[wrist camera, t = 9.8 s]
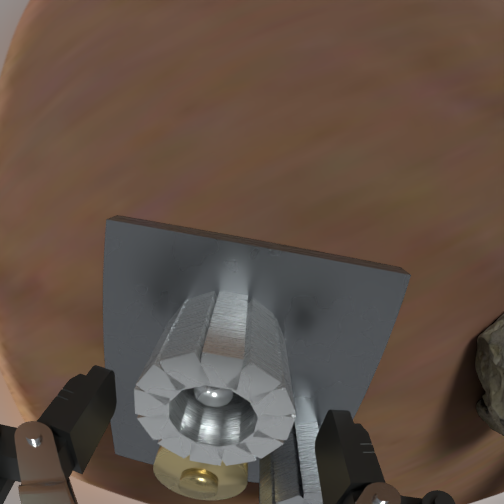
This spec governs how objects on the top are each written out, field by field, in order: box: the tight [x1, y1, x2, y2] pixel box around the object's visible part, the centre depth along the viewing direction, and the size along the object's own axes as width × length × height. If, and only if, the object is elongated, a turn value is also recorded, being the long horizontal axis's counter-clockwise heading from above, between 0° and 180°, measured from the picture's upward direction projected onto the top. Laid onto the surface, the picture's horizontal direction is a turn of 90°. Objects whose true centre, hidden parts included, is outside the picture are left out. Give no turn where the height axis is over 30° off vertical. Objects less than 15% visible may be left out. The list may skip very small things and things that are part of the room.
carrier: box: [103, 215, 411, 500], centre depth 14 cm, size 14×16×5 cm
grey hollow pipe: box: [259, 421, 323, 504], centre depth 14 cm, size 6×6×5 cm
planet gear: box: [134, 290, 296, 466], centre depth 12 cm, size 6×6×5 cm
